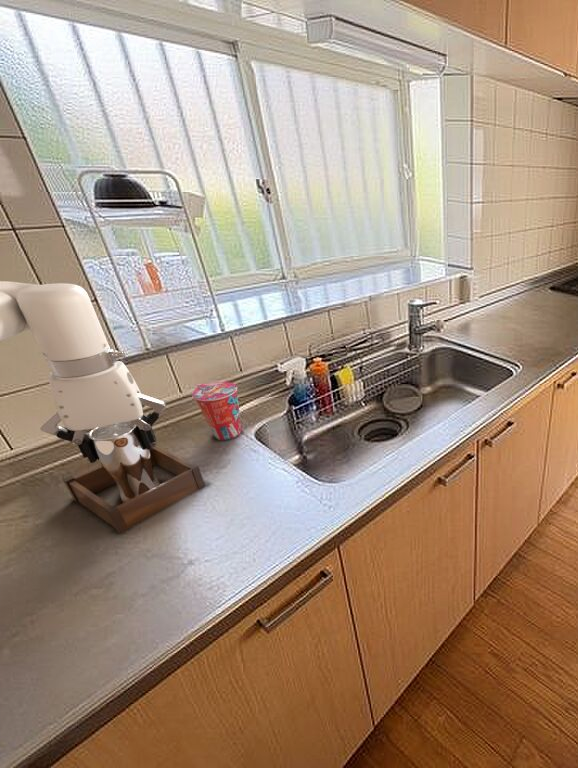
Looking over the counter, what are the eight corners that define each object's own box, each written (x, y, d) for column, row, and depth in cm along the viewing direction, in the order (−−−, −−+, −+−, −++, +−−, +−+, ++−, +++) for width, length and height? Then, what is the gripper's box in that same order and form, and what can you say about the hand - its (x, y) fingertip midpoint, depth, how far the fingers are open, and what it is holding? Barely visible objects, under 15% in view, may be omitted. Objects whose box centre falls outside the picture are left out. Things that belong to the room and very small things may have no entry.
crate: (75, 502, 78) (62, 479, 75) (160, 461, 89) (151, 440, 86) (121, 535, 72) (109, 511, 69) (206, 487, 83) (198, 465, 80)
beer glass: (162, 477, 85) (135, 414, 78) (168, 495, 80) (141, 430, 74) (116, 493, 80) (84, 427, 73) (121, 513, 76) (87, 445, 69)
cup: (256, 426, 103) (245, 382, 97) (236, 446, 95) (222, 400, 89) (218, 424, 102) (204, 380, 97) (194, 444, 95) (178, 398, 89)
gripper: (153, 345, 75) (183, 429, 83) (13, 363, 66) (62, 455, 74) (149, 361, 69) (182, 449, 77) (-4, 383, 60) (51, 479, 69)
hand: (123, 451), depth 76 cm, fingers closed on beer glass, 7 cm apart
